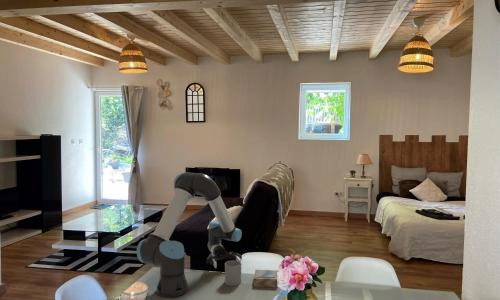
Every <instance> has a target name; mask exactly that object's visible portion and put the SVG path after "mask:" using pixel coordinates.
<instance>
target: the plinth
mask: <svg viewBox="0 0 500 300" xmlns="http://www.w3.org/2000/svg"><path fill="white" fill-rule="evenodd" d="M277 272H278V273H279V270H277V269H276V270H274V269H255V271H254V276H253V287H259V288H260V287H262V288H263V287H264V288H265V287H266V288H267V287H269V288H278V287H277Z"/></svg>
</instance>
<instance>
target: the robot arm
mask: <svg viewBox="0 0 500 300" xmlns="http://www.w3.org/2000/svg"><path fill="white" fill-rule="evenodd" d="M173 193H174V194H173V196H172V198H171V200H170V202H169V204H168V206H167V207H166V209H165V210H164V213H163V215H162V216H161V218H160V221H159V222H158V224H157V226H156V228H155V229H154V231H153V232H151V233H149V234H148V236H147V238H145V239H142V240H141V241H140V242H139V243H138V245H137V247H136V257H137V259H138V260H139V262H141V263H144V264H145V265H150V266H154V267H157V268H159V278H158V281H157V285H156V295H158V296H159V297H162V298H177V297H181V296H184V295H185V294H186V293H188V291H189V283H188V280H187V278H186V274H185V248H184V247H185V246H184V244H183V243H181V242H180V241H177V240H170V238H171V236H172V234H173V233H174V230H175V229H176V227H177V224H178V222H179V220H180V218H181V216H182V215H183V214H184V211H185V209H186V207H187V205H188V203H189V202H190V201H192V200H193V199H194V198H195V195H199V196H201V197H202V198H203V199H204V200H205V201H206V202H208V204H209V206H210V209H211V210H212V212H213V214H214V216H215V218H216V220H213V221H210V222H209V224H208V243H207V248H208V250H209V252H210V253H209V255H208V256H207V258H206V264H210V266H213V267H214V268H215V269H217V266H218V264H217V261H220V260H224V259H225V260H229V259H230V260H233V261H239V262H241V263H242V260H243V256H242V254H239V253H237V252H234V251H232V250H230V252H228V251H227V249H225V248H226V247H224V246H223V245H222V240H226V241H230V242H231V241H232V242H239V241H240V240H241V239H242V235H243V233H242V230H241V229H240V228H237V227H236V225H235V224H234V221H233V219H232V218H231V215H230V213H229V211H228V209H227V207H226V204H225V203H224V201H223V198H222V196H221V194H222V192H221V190H220V188H219V186H218V185H217V183H216V182H215V180H213V179H212V178H211V177H210V176H209V175H207V174H205V173H201V172H200V173H198V172H197V173H196V172H189V171H186V172H185V171H184V172H180V173H179V174H177V175H176V176H175V177H174V180H173Z"/></svg>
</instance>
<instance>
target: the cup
mask: <svg viewBox="0 0 500 300" xmlns="http://www.w3.org/2000/svg"><path fill="white" fill-rule="evenodd" d="M224 283H225V285H226V286H229V287H231V286H232V287H234V286H235V287H236V286H239V285H241V284H242V261H241V262H239V261H236V260H234V259H231V260H227V261H226V262H225V263H224Z"/></svg>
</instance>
